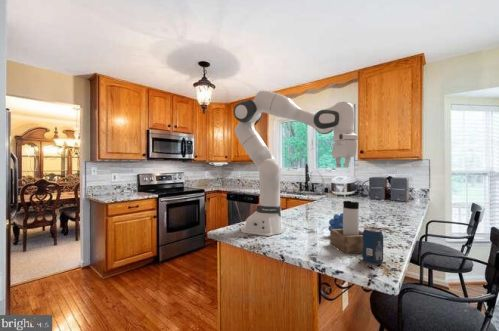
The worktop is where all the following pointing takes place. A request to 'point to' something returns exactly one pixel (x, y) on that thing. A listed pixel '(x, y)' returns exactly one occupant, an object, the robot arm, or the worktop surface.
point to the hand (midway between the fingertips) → (342, 167)
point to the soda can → (372, 245)
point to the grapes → (336, 222)
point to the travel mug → (350, 218)
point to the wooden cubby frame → (346, 241)
